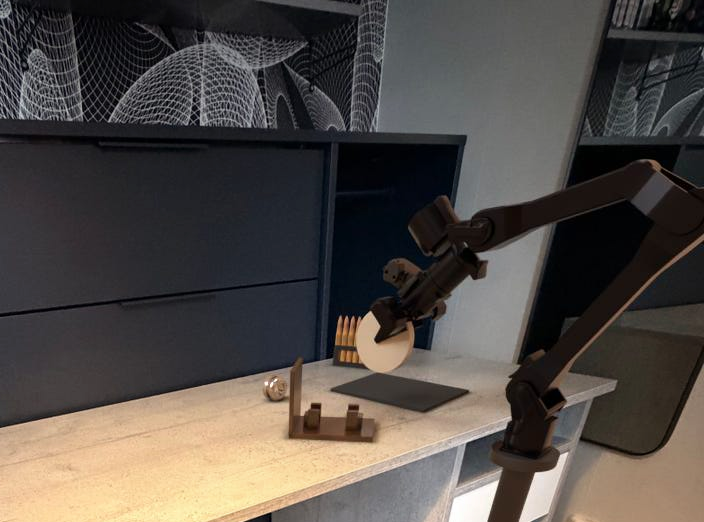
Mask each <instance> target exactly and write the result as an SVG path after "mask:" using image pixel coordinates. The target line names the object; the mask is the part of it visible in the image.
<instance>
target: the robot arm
mask: <svg viewBox="0 0 704 522" xmlns="http://www.w3.org/2000/svg"><path fill="white" fill-rule="evenodd" d="M623 201H628V202H629V203H631V205H633V206H634V207H635V208H636V209H638V210H639V212H641V213H642V214H643V215H644V216H646V217H647V218H648V219H650V220H652V222H654V223H653V224H652V225H651V227H650V229H649V230H648V232H647V233H646V234H645V236H644V237H643V239H642V242H640V244H639V246H638V248H637V250H636V252H635V253H634V255H633V256H632V258H631V260H630V261H629V262H628V263H627V264H626V265H625V266H624V267H623V269H622V270H621V271H620V272H619V273H618V274H617V275H616V276H615V277H614V279H613V280H612V281H610V283H609V284H608V285H607V286H606V288H604V289H603V290H602V291H601V293H600V294H598V296H597V297H596V298H595V300H593V302H591V303H590V305H589V306H588V307H587V308H586V309H585V310H584V311H583V312H582V313H581V315H580V316H579V317H578V318H577V319H576V320H575V321H574V322H573V323H572V324H571V325H570V327H569V328H568V329H567V330H566V331H565V332H564V333H563V334H562V335H561V336H560V338H559V339H558V340H557V341H556V342H555V343H554V344H553V345H552V346H551V347H550V348H549V349H547V351H546V352H545V350H544V349H540V350H538V351H535V352H533V353H531V354H528V355H527V356H526V357H525V358H524V360H523V361H522V362H521V363H520V365H519V367H518V368H517V370H516V371H514V372H513V373H511V374H509V375H508V379H510V380H509V381H508V383H507V384H506V386H505V389H504V391H505V398H506V401H507V403H508V404H509V407H510V419H511V420H509V421H507V423H506V426H505V431H504V434H503V438H502V440H503V441H502V444H503V446H501V447H500V448H499V450H500V451H503V452H507V453H511V454H515V455H519V456H522V457H526V458H530V459H534V460H536V459H539V458H540V457H542V456H543V455H545V454H546V453H548V452H549V451H551V450H552V447H551V446H552V445H551V442H552V439H553V436H554V433H555V430H556V427H557V424H558V421H559V418H560V417H559V416H555V415H557V414H559V413H560V412H561V411H562V410H563V409H564V407H565V406H566V405H567V404H568V400H567V398H566V397H565V395H564V393H563V392H562V391H561V389H560V388H559V386H560V385H561V383H562V382H563V380H564V378H566V376H567V374H568V373H569V372H570V369H571V367H572V366H573V364H574V362H575V361H576V360H577V359H578V358H579V357H580V356H581V355H582V354H583V352H585V351H586V349H588V348H589V346H591V344H592V343H593V342H594V341H595V340H596V339H597V338H598V337H599V336H600V335H601V334H602V333H603V332H604V331H605V330H606V329H607V328H608V327H609V326H610V325H611V324H612V323H613V322H614V321H616V319H617V318H618V317H619V316H620V314H622V313H623V312H624V311H625V310H626V308H628V307H629V306H630V304H631V303H633V302H634V300H635V299H637V297H639V295H640V294H642V292H644V290H646V288H647V287H648V286H649V285H650V284H651V283H652V282H653V281H654V280H656V278H657V277H658V276H659V275H660V274H661V273H663V272H664V271H665V270H666V269H668V268H669V267H671V266H672V265H673V264H675V263H676V262H677V261H679V260H680V259H682V257H684V256H686V255H687V254H688V253H689V252H690V251H692V250H693V249H694V248H696V247H697V246H698V245H699V244H701V243H702V242H703V241H704V187H698V186H696V185H695V184H692V183H691V182H689V181H687V180H686V179H683V178H682V177H680V176H679V175H676V174H674V173H673V172H671V171H669V170H668V169H665V168H664V167H662V166H661V164H660V163H659V162H657V160H653V159H645V158H643V159H637V160H633V161H631V162H630V163H628V164H626V165H625V166H623V167H620V168H618V169H615V170H612V171H610V172H607V173H604V174H601V175H599V176H596V177H593V178H589V179H588V180H587V179H586V180H584V181H582V182H579V183H576V184H574V185H571V186H569V187H566V188H563V189H560V190H557V191H554V192H552V193H548V194H547V195H544V196H541V197H538V198H536V199H533V200H529V201H528V200H527V201H524V202H518V203H511V204H506V205H505V204H504V205H499V206H494V207H488V208H487V207H486V208H482V209H479V210H478V211H477V212H475V213H474V214H473V215H472V216H471V217H470V219H462V220H460V218H459V216H458V215H457V213H456V212H455V210H454V209H453V207H452V204H451V201H450V199H449V198H448V196H447V195H438V196H437V197H436V199H434V200H433V201H432V202H431V203H429V204H427V205H426V206H424V207H423V208H422V209H421V210H420V211H418V212H416V213H415V214H414V216H413V217H412V218H411V220H409V222H408V225H407V229H408V231H409V233H410V235H411V236H412V237H413V239H414V241H415V242H416V244H417V246H418V247H419V249H420V250H421V252H422V253H423V255H424V256H425V257H430V256H432V255H433V257H434V258H436V257H437V259H436V260H435V261H434V262H433V263H432V264H431V265H430V266H428V268H427V269H426V270H425V269H424V270H422V269H421V268H420V267H418V266H417V265H415V264H414V263H413V262H411V261H409V260H408V259H406V258H403V257H400V258H394V259H391V260H390V261H388V263H387V265H385V266H383V269H382V271H383V273H382V279H383V280H384V281H385V283H390V284H391V285H393V286H394V287H395V288H397V289H399V290H398V291H397V292H396V294H397V295H398V298H400V299H402V300H399V301H397V299H396V297H395V296H388V295H387V296H383V297H379V298H376V299H375V300H374V302H373V303H372V304H370V305H369V310H370V311H371V312H372V314H373V315H374V317H375V319H376V320H377V322H378V323H379V325H380V329H379V330H378V332H377V334H376V336H375V338H374V341H375V343H376V344H378V343H380V342H383V341H385V340H387V339H390V338H392V337H394V336H396V335H399V334H401V333H403V332H406V331H408V329H407V328H406V324H407V323H410V322H412V325H413V329H414V330H416V329H418V328H421V327H424V322H423V320H422V319H425V318H428V317H430V319H429V321H430V322H431V323H434V322H438V321H439V320H440V319H442V317H444V316H445V315H446V313H447V308H448V306H447V304H446V302H445V301H448V300H449V299H450V298H451V297H452V292H453V291H454V290H456V289H457V287H459V286H460V285H461V284H462V283H463V282H464V281H465V280H466V279H467V278H468V277H469V276H470V278H471V279H472V280H473V281H478V280H482V279H485V278H486V277H487V271H488V264H489V259H481V257H480V256H479V255H478V254H480V253H487V252H493V251H498V250H501V249H504V248H505V247H508V246H509V245H512V244H514V243H515V242H517V241H519V240H522V239H523V238H525V237H526V236H528V235H530V234H531V233H533V232H535V231H537V230H539V229H541V228H544V227H547V226H550V225H553V224H556V223H559V222H563V221H566V220H569V219H572V218H575V217H578V216H581V215H584V214H587V213H590V212H593V211H596V210H599V209H603V208H605V207H609V206H612V205H615V204H618V203H620V202H621V203H622V202H623ZM370 311H369V312H370ZM432 314H433V315H432ZM549 445H551V446H549Z"/></svg>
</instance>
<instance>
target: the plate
mask: <svg viewBox="0 0 704 522" xmlns="http://www.w3.org/2000/svg"><path fill="white" fill-rule="evenodd" d="M406 328H407V329H408V331H406V332H403V333H401V334H399V335H396V336H394V337H392V338H390V339H387V340H385V341H383V342H380V343H378V344H376V343H375V341H374V338H375V336H376V334H377V332H378V330H379V329H380V325H379V323H378V322H377V320H376V319H375V317H374V315H373V314H372V312H371V311H368V313H367V314H365V316H364V317H363V319H361V323H360V325H359V328H358V331H357V337H356V346H357V351H358V354H359V357H360V359H361V361H362V362H363V363H364V365H365V366H366V367H368V368H369V369H368V370H370V371H372V372H375V373H377V372H378V373H383V374H386V373H389V372H393V371H394V370H397V369H398V368H400V367H401V366H403V365H404V364H405V363H406V362H407V360H408V359H409V357H410V356H411V354H412V351H413V348H414V344H415V329H413V325H412V322H410V323H407V324H406Z"/></svg>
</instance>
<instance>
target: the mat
mask: <svg viewBox="0 0 704 522" xmlns="http://www.w3.org/2000/svg"><path fill="white" fill-rule="evenodd" d="M330 392H333V393H338V394H343V395H346V396H351V397H354V398H358V399H364V400H367V401H372V402H376V403H381V404H385V405H388V406H389V405H390V406H392V407H393V406H394V407H398V408H402V409H406V410H410V411H415V412H418V413H423V414H424V413H426V412H428V411H430V410H432V409H435V408H437V407H439V406H440V407H441V406H442V405H444V404H446V403H449V402H450V401H453V400H456V399H457V398H460V397H462V396H465V395H467V394H468V393H470V389H467V388H462V387H456V386H452V385H446V384H441V383H435V382H430V381H425V380H419V379H414V378H410V377H409V378H408V377H404V376H398V375H393V374H387V373H379V372H375V373H371V374H369V375H368V374H367V375H366V376H362V377H360V378H356V379H354V380H352V381H349V382H345V383H341V384H340V385H337V386H334V387H330Z"/></svg>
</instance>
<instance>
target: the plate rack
mask: <svg viewBox="0 0 704 522" xmlns="http://www.w3.org/2000/svg"><path fill="white" fill-rule="evenodd" d="M303 362H304V361H303V357H298V358H297V360H296V361H295V363H294V364H293V365H292V368H291V369H290V371H289V396H288V397H289V400H288V401H289V402H288V405H289V406H288V436H287V437H288V439H294V440H296V439H297V440H298V439H299V440H315V441H317V440H318V441H319V440H320V441H337V442H338V441H339V442H357V443H359V442H360V443H373V440H374V431H375V419H376V418H371V417H370V418H369V417H364V412H360V403H348V404H347V410H346V416H345V417H344V416H343V417H341V416H322V406H323V405H322V404H323V403H322V402H310V406H309V408H308V409H307V410H305V412H304V414H303V415H301V413H302V411H301V410H302V389H303V387H302V386H303V384H302V383H303Z"/></svg>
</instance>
